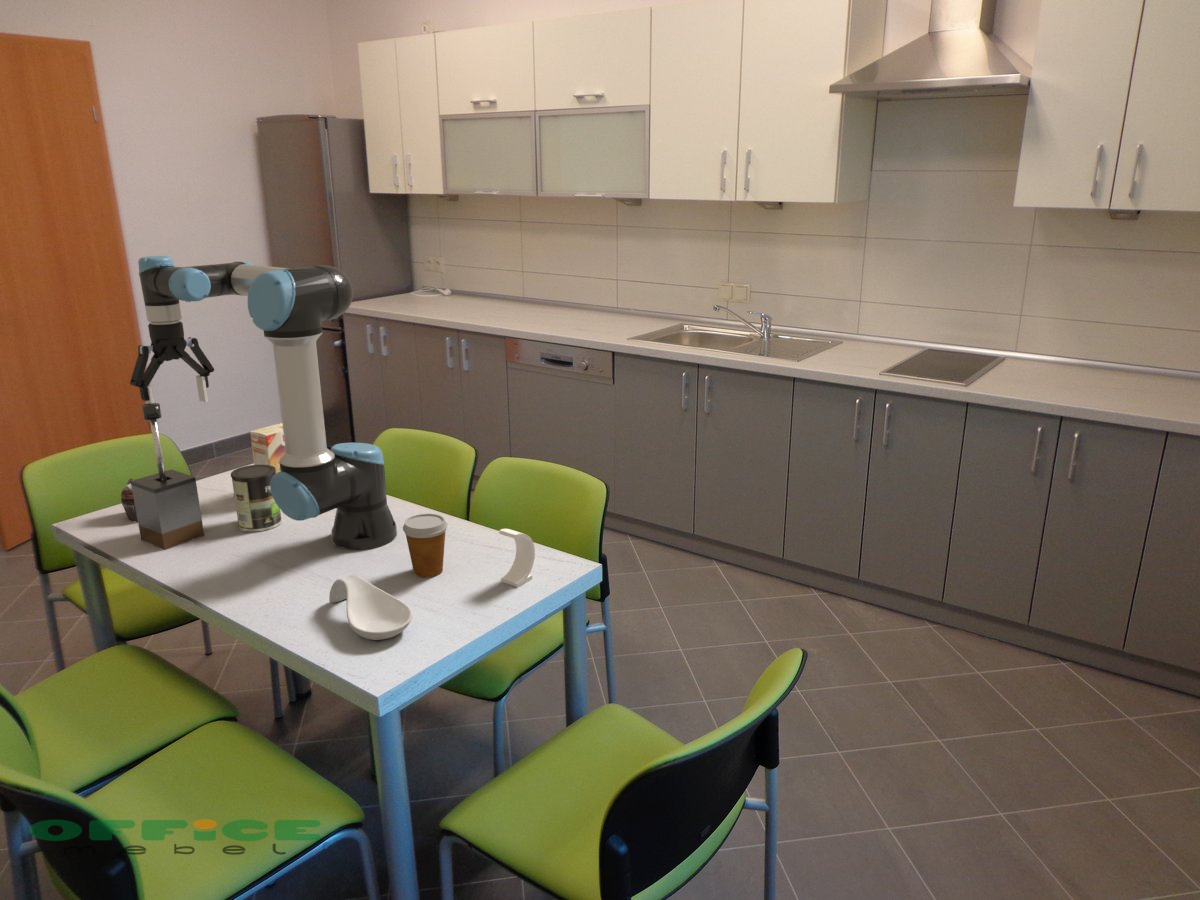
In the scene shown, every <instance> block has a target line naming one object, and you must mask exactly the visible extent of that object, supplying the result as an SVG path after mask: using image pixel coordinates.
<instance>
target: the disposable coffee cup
mask: <svg viewBox="0 0 1200 900" xmlns="http://www.w3.org/2000/svg"><path fill="white" fill-rule="evenodd" d="M448 526H449V525H448V522H447V520H446V519H445V517H444V516H442V515H441V514H438V513H430V512H429V513H418V514H415V515H412V516H409V517H407V518H406V519H405V520H404V524H403V526H402V531H403V532H404V534H405V537H406V542H407V547H408V551H409V556H410V560H411V561H410V562H411V565H412V570H413V574H414V576H416V577H418V578H419V577H420V578H432V577H433V578H434V577H436V576H438V575H440V574H442V572H443V569H444V556H445V544H446V543H445V541H446V531H447V528H448Z"/></svg>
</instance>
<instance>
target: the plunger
mask: <svg viewBox="0 0 1200 900" xmlns="http://www.w3.org/2000/svg"><path fill="white" fill-rule="evenodd" d="M141 407H142V408H141V410H142V415H143V419H144V420H146V421H149V423H150V428H151V429H150V430H151V435H152V441H153V447H154V453H155V457H156V458H155V460H156V463H157V464H156V465H157V470H158V473H159V478H160V482H163V481H166V480H167V479H166V473H165V471H166V469H165V462H164V455H163V450H162V445H161V437H160V431H159V426H158V419H161V418H162V416H163V415H162V412H161V406H160V403H159V402H154V403H149V404H146V403H145V404H142V406H141Z"/></svg>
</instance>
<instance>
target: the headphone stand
mask: <svg viewBox="0 0 1200 900" xmlns="http://www.w3.org/2000/svg"><path fill="white" fill-rule="evenodd" d="M499 535H503V536H506V537H509V538H513V539H514V541H515V556H514V559H513V560H514V561H513V563H512V564H511V565H512V566H511V567H510V569H509V570H508V571H507V573H506V574H505V575H504V576H502V577H501V583H504V584H507V585H510V586H513V587H515V588H518V587H520V586H522V585H524V584H526V583H527V582H529V581H531V580H533V575H532V574H531V572H532V569H533V566H534V561H535V558H536V549H535V544H534V541H533V539H532V538H531V536H529V535H528V534H525V533H522V532H520V531H516V530H513V529H511V528H501V529H499Z"/></svg>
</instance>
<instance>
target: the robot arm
mask: <svg viewBox="0 0 1200 900" xmlns="http://www.w3.org/2000/svg"><path fill="white" fill-rule="evenodd" d="M137 263H138V276H139V279H140V287H141V292H142V297H143V302H144V308H145V309H144V310H145V315H146V321H147V322H148V325H147V326H148V334H149V339H150V341H151V342H150V345H142V344H140V345H138V346H137V349H138V350H137V352H138V353H137V354H138V355H137V358H136V362H135V365H134V368H133V371H132V375H131V377H130V380H129V381H130V382H129V384H130V385H131V386H133V387H136V388H137V387H138V388H139V393H140V398H141V400H142V401H144V402H145V404H149V403H155V397H154V392H153V387H152V386H149V385H150V384H151V382H152V380H153V379H154V377H155V375H156V373H157V372H158V370H159V368H160V367H161V365H163V364H164V362H170V361H172V360H177V361H178V360H180V359H181V360H182V361H183V362H185V363H186V365H188V366H189V367H190V368H192V369H193V370H194V371H195V372H196V373H197V374H198V375H195V379H196V386H197V392H198V399H199V401H200V402H203V403H208V402H209V397H208V390H207V389H208V388H209V386H210V385H209V378H208V377H209V376H211V373H214V371H215V367H213V365H212V363H211V362H210V361H209V359H208V358H207V356H206V355H205V353H204V351H203V350H202V348H201V346H200V345H199V341H198V339H197V338H196V337H192V336H190V337H188V338H187V339H186V338H185V332H184V331H185V329H184V324H183V322H182V321H181V320H182V318H183V316H182V311H181V304H180V301H181V302H182V301H183V302H186V303H191V302H200V301H202V300H204V299H207V298H209V299H210V298H216V297H221V296H223V297H224V296H232V295H235V296H242V297H243V296H244V297H247V310H248V314H249V316H250V318H252V322H253V324H254V325H255V326H256V327H257V328H258V329H260V330H261V331H263V335H264V338H266V340H268V341H269V342H271V344H272V346H273V354H274V355H273V356H274V363H275V373H276V380H277V388H278V389H277V390H278V397H279V405H280V406H279V407H280V415H281V423H282V424H283V433H284V441H285V450H286V452H285V453H284V454H283V456H282V457H281V458H280V459H279V462H280V471H281V472H278V473H276V474H275V475H274V476H273V477H272V479H271V483H270V487H271V492H272V496H273V498H274V500H275V502H276V504H277V506H278V507H279V508H280V512H282V513H283V514H284V515H285V516H287V517H288V518H290V519H292V520H294V521H305V520H309V519H312V518H317V517H318V516H321V515H323V514H325V513H328V512H330V511H333V510H335V509H336V512H335V515H334V520H333V521H334V522H333V526H332V528H331V532H330V534H331V541H332V543H333V544H334V545H335V546H337V547H339V548H342V549H346V550H347V549H348V550H365V549H367V550H368V549H373V548H377V547H381V546H383V545H386V544H389V543H391V541H394V539H395V538H396V537H397V536H398V531H397V530H398V529H397V524H396V523H397V522H396V521H395V519H394V517H393V515H392V513H391V510H390V507H389V504H388V498H387V487H386V476H385V475H386V473H385V465H386V464H385V461H384V455H383V451H382V449H381V448H380V447H379V446H378V445H374V444H371V443H366V442H342V443H341V442H340V443H336V444H334V445H332V446H331V448H330V449H329V448H328V447H327V436H326V428H325V416H324V409H323V398H322V388H321V381H320V380H321V378H320V370H319V368H320V367H319V360H318V359H319V357H318V350H317V340H318V339H319V338H320V337H321V336H322V335H323V326H322V325H323V324H322V322H326V321H330V320H333V319H336V318H339V317H340V316H342V315H344V314H345V313H346V312H347V310H349V308H350V306H351V304H352V303H353V299H354V288H353V284H352V282H351V279H350V278H349V277H348V275H347V274H346V273H345V272H344V271H343V270H341V269H339V268H337V267H334V266H333V265H332V266H331V265H324V264H323V265H321V264H320V265H314V266H313V265H312V266H303V267H294V268H293V267H292V268H291V267H290V268H288V267H280V266H279V267H278V266H268V265H257V264H253V263H252V262H249V261H233V262H226V263H217V264H203V265H193V266H192V265H191V266H175V264H174V261H173V258H172V257H171V256H169V255H150V256H143V257H140V258H139V259H138V261H137ZM186 347H188V348H189V349H190V350H191V352H192V353H193V355H194V357H195V358H196V359H197V360H198V362H199V363H198V362H197V361H196V360H195V359H194V358H193V357H191V355H190V353H188V352H187V351H186ZM151 352H152V353H153V355H152V357H151V358H150V362H149V361H148V360H149V356H150V354H151ZM148 362H149V363H148Z"/></svg>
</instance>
